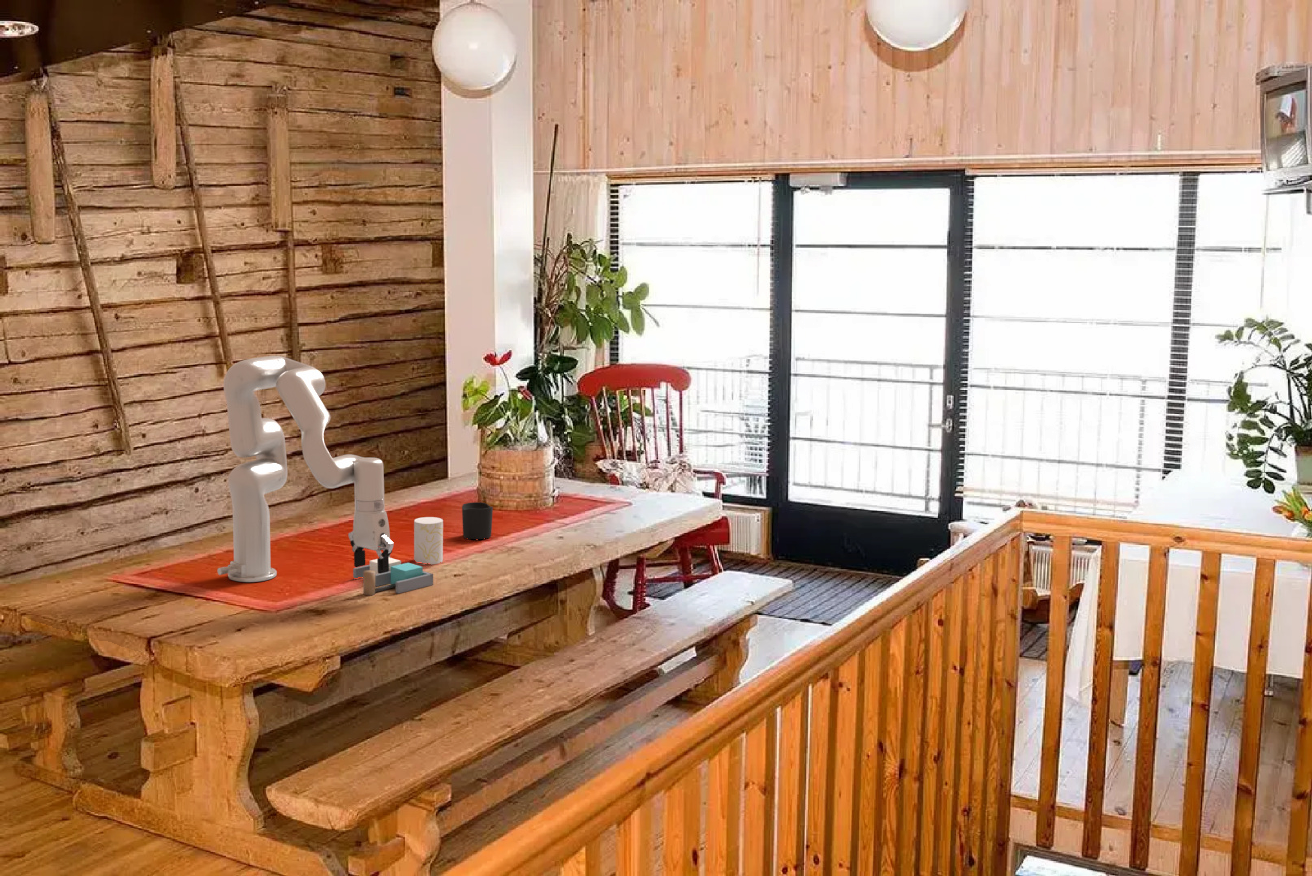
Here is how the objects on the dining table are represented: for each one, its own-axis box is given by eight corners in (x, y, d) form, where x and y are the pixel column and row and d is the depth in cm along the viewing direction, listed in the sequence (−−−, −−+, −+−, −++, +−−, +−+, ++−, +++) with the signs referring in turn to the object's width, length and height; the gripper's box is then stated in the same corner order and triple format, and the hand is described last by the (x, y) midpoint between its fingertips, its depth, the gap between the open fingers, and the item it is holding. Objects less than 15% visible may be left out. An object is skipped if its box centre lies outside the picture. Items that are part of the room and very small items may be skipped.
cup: (419, 565, 371) (419, 524, 369) (410, 558, 378) (410, 518, 376) (446, 562, 374) (446, 522, 372) (437, 556, 382) (437, 516, 380)
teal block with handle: (371, 597, 339) (371, 575, 338) (357, 592, 343) (357, 570, 342) (422, 584, 352) (422, 563, 351) (408, 580, 356) (408, 559, 355)
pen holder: (496, 534, 409) (496, 503, 407) (487, 541, 400) (487, 510, 398) (467, 532, 410) (467, 501, 409) (457, 539, 401) (458, 507, 400)
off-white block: (383, 582, 353) (383, 564, 352) (369, 578, 357) (369, 560, 356) (401, 578, 358) (401, 560, 357) (386, 574, 362) (386, 556, 361)
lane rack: (398, 593, 343) (398, 582, 343) (353, 578, 355) (353, 568, 355) (433, 584, 353) (433, 574, 352) (388, 570, 364) (388, 560, 364)
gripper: (402, 507, 336) (404, 572, 338) (360, 498, 346) (362, 561, 349) (379, 512, 330) (381, 578, 333) (337, 503, 341) (339, 566, 344)
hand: (371, 569), depth 341 cm, fingers open, 9 cm apart
